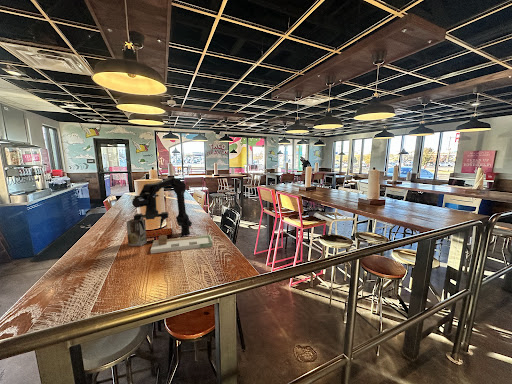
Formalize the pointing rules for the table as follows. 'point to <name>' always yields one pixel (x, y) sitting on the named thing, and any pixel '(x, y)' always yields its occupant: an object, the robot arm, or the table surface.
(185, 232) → the robot arm
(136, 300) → the table surface
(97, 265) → the table surface
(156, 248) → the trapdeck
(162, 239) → the block
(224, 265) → the table surface
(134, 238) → the coffee box
